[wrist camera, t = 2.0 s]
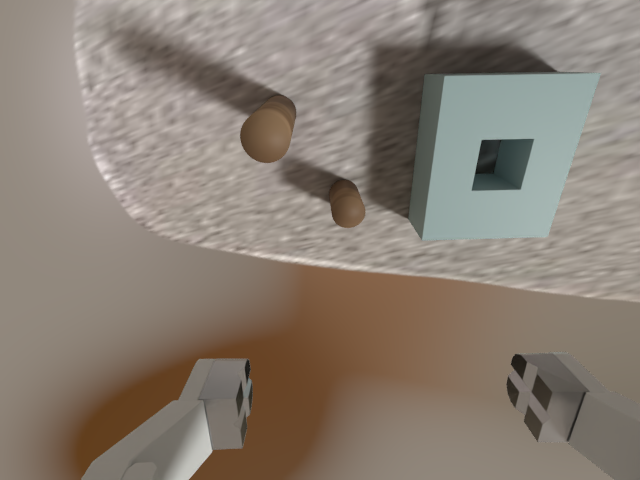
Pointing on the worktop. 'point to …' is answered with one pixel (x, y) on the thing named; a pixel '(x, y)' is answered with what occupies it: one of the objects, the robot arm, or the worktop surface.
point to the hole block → (513, 157)
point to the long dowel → (269, 130)
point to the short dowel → (346, 204)
